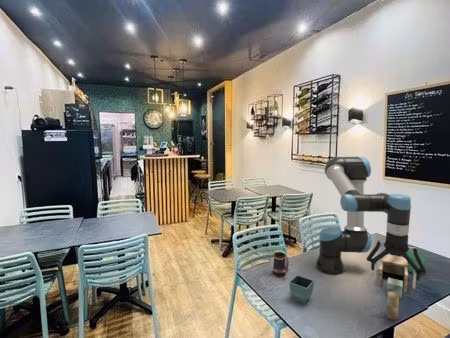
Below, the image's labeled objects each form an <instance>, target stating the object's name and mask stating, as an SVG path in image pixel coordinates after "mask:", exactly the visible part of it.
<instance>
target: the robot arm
mask: <svg viewBox="0 0 450 338" xmlns="http://www.w3.org/2000/svg"><path fill="white" fill-rule="evenodd" d="M324 174H325V176H326V178H327V179H328V180H330V181H331V182H332V183H333V186H335V189H336V190H337V192H338V193H339V195H340V201H339V202H340V207H341V209H342V210H343V211H344V212H346V225H345V226H344V228H343V230H342V229H341V228H339V227H335V226H330V227H328V226H327V227H325V228H322V229H321V230H320V232H319V247H318V249H319V251H318V256H317V259H316V261H315V268H316V270H318V271H319V272H321V273H324V274H327V275H334V276H335V275H341V274H343V273H344V272H345V271H344V270H345V266H344V263H343V260H342V253H357V254H360V253H367V252H369V250H371V247H372V235H371V234H370V232H369V231H368V229H367V228H366V226H365V221H364V220H365V217H364V216H365V213H364V212H367V213H370V212H371V213H372V212H373V213H375V212H376V213H380V212H381V213H385V214H386V216H387V217H386V232H385V233H386V234H385V241H384V242H383V241H381V240H379V239H378V240H377V241H376V245H374V247H373V249H372V250H371V252H369V254H368V255H367V257H366V261H368V262H370V263H371V266H370V267H371V268H370V269H371V271H373V280H376V278H377V266H378V262H379V261H381V258H383V257H384V256H385V255H387V254H388V255H393V256H399V257H404V258H405V259H406V260H407V261H408V263H409V264H410V265H411V266H412V267H413V269H414V273H412V276H413V277H412V289H414V290H415V289H416V282H417V281H418V282H419V281H420V280H421V279H420V277H421V274H426V273H427V270H426V267H425V266H424V265H425V264H424V265H423V263H422V261H421V259H420V257H419V255H418V253H417V252H418V247H417V246H413V247H412V246H409V233H410V220H411V209H412V205H411V204H412V203H411V201H412V198H411V197H410V196H409V195H405V194H402V193H401V194H400V193H391V194H388V193H386V192H378V193H376V194H366V193H365V194H364V188H365V187H364V186H365V185H364V184H365V182H367V181H368V179H367V178H369V177H370V176H371V174H372V167H371V164H370V161H369V160H368V158H367V157H365V156H364V157H363V156H337V157H333V158H331V159H330V160H329V161H328V162H327V163H326V164H325V166H324ZM382 247H384V248H385V249H384V250H383V251H381V252H380V253H379V254H377V255H375V254H376V253H377V252H378V251H379V249H380V248H382ZM408 250H410V251H411V253H414V256H415V258H416V260H417V262H418V264H419V266H420V268H418V267H417V265H416V264H415V263H414V262H413V261H412V259H411V258H410V257H409V256H408V254H407V253H406V252H407V251H408Z"/></svg>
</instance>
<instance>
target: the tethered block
mask: <svg viewBox="0 0 450 338" xmlns="http://www.w3.org/2000/svg"><path fill="white" fill-rule="evenodd" d="M386 284H387V285H386V286H387V287H386V295H387V297H386V298H387V300H386V313H385V314H386V317H387V318H388V319H390V318H391V319H390V320H393V319H394V321H395V320H396V319H398V318H399V305H400V304H399V300H400V299H402V298H403V287H404V283H403V280H399V279H395V278H391V277H388V278H387V283H386Z"/></svg>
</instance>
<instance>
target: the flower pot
mask: <svg viewBox="0 0 450 338" xmlns="http://www.w3.org/2000/svg"><path fill="white" fill-rule="evenodd" d="M288 284H289V290H290V291H289V292H290V295H291V297H292V299H294V301H297V302H300V303H301V304H305V303H306V302H307V301H308V300H309V299H310V297H311V295H312V293H313V291H314V286H315V285H314V284H315V280H313V279H310V278H308V277H306V276H305V277H304V276H301V275H299V274H297V275H295V276H294V277H292V279H290V281H289V283H288Z"/></svg>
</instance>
